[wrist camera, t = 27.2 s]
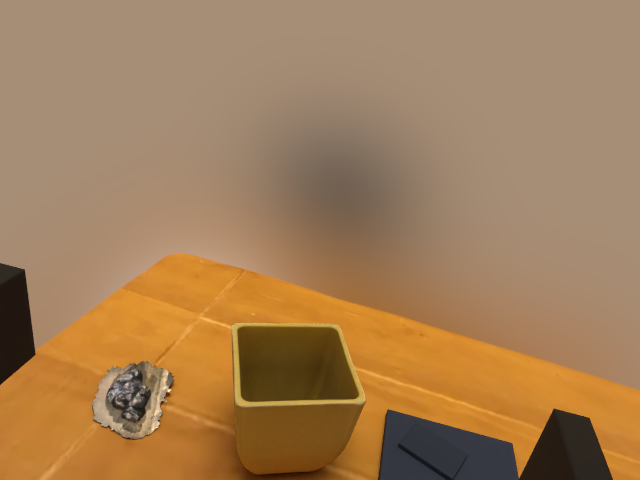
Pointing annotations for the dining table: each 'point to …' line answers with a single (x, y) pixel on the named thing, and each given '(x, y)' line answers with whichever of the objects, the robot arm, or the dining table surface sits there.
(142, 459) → the dining table surface
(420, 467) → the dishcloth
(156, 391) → the grey mineral rock
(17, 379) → the dining table surface
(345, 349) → the flower pot
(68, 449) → the dining table surface
